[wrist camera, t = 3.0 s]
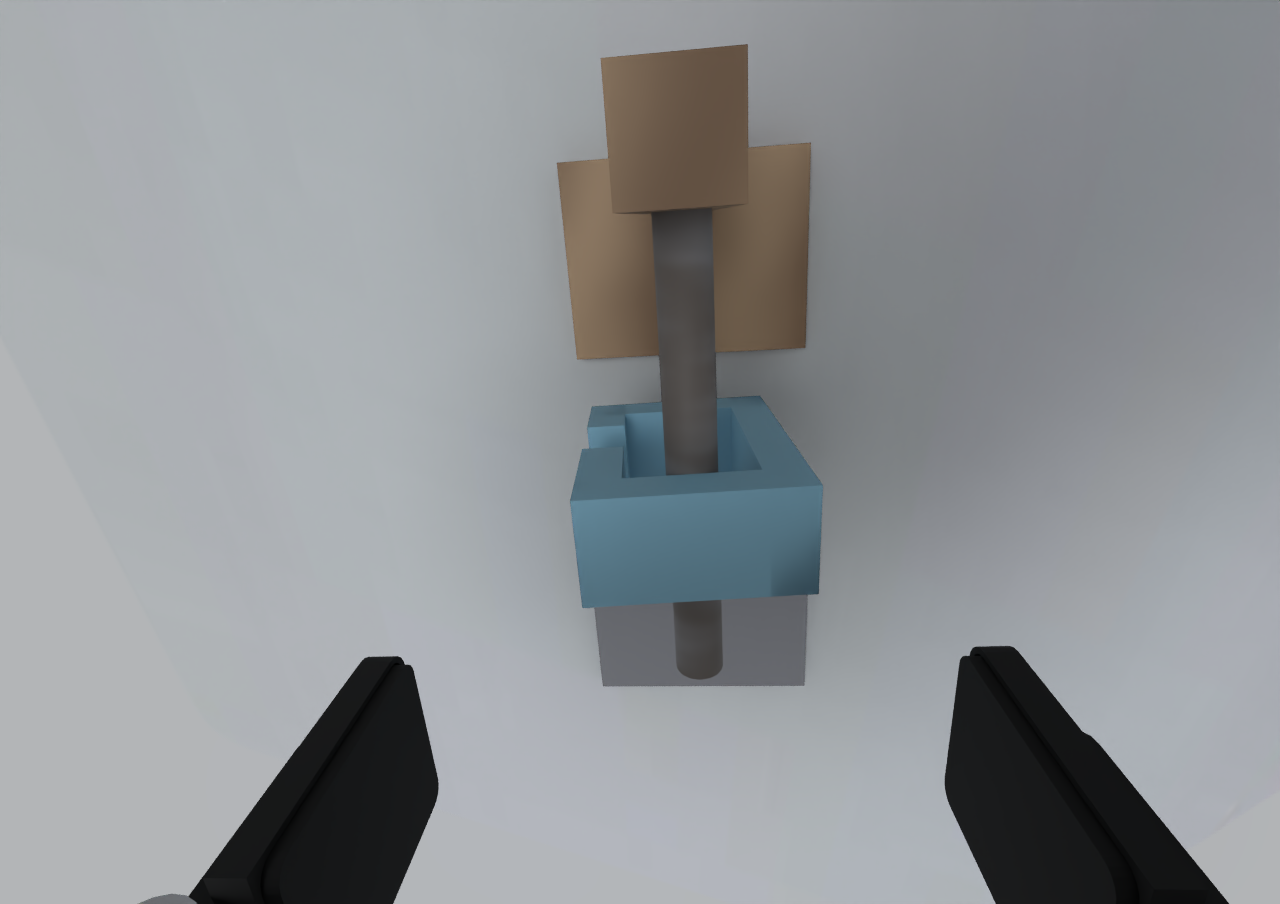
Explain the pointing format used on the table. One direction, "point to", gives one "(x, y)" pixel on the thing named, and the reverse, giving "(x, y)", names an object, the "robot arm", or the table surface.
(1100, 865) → the robot arm
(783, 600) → the mat
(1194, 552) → the table surface
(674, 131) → the stand
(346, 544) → the table surface
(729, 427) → the link
